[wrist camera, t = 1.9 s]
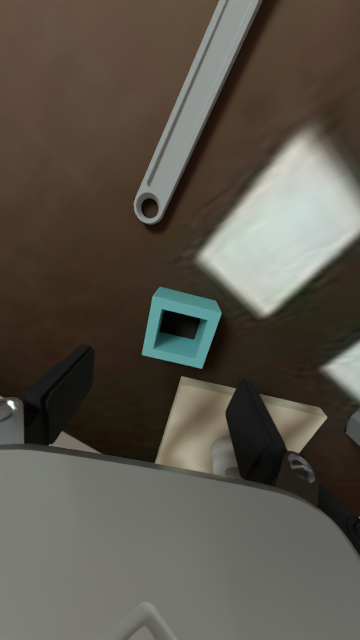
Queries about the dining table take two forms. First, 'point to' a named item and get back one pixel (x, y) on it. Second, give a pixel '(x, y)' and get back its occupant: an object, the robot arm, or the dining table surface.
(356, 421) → the coffeepot
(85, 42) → the dining table surface
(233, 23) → the adjustable wrench
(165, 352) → the collar
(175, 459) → the post stand
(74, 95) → the dining table surface
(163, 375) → the dining table surface
